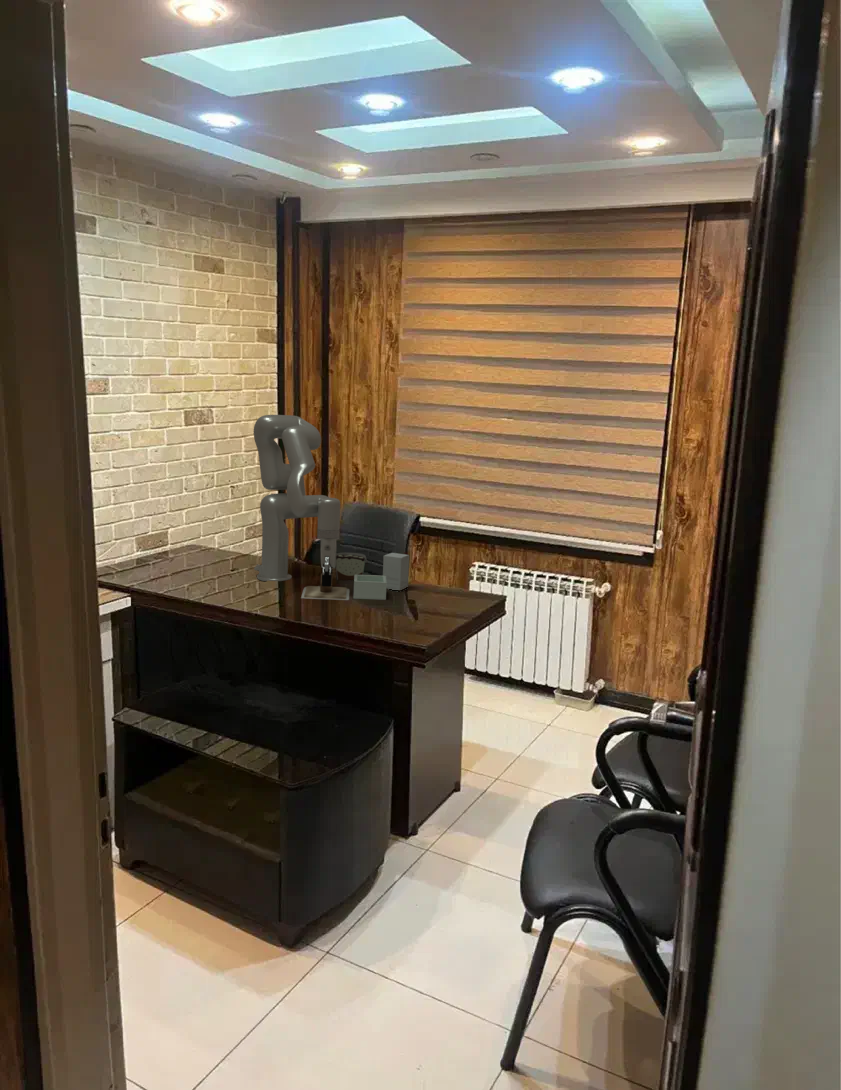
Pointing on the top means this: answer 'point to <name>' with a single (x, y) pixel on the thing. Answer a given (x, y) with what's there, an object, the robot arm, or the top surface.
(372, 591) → the open square bin
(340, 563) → the grey half-round piece
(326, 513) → the robot arm
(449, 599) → the top surface
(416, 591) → the top surface
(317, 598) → the mat
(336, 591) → the lid
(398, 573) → the supplement box
